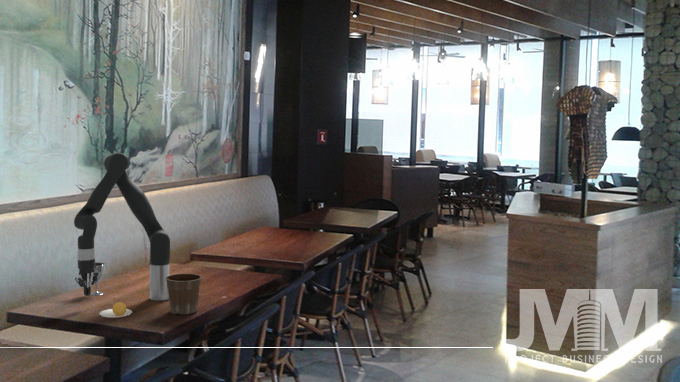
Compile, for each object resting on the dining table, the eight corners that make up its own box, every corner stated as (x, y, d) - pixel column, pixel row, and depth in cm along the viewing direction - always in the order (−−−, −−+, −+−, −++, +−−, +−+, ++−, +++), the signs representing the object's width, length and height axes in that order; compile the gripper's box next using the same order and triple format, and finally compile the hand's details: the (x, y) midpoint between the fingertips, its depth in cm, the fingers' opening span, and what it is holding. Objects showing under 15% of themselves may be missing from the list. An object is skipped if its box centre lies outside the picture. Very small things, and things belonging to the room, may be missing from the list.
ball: (121, 307, 317) (131, 306, 314) (115, 318, 313) (125, 318, 310) (113, 299, 313) (123, 299, 310) (107, 311, 309) (117, 310, 306)
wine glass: (108, 293, 349) (108, 263, 348) (95, 296, 342) (95, 266, 341) (97, 291, 353) (97, 261, 352) (84, 294, 346) (84, 264, 345)
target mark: (132, 308, 324) (132, 307, 324) (131, 316, 310) (131, 316, 310) (100, 309, 320) (100, 309, 320) (98, 318, 307) (98, 317, 307)
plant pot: (158, 310, 321) (158, 276, 320) (188, 305, 333) (189, 271, 331) (177, 318, 310) (177, 282, 308) (208, 312, 321) (208, 277, 319)
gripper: (90, 254, 327) (91, 291, 328) (69, 259, 314) (70, 297, 316) (103, 256, 324) (103, 292, 326) (82, 261, 312) (83, 299, 313)
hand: (87, 295), depth 321 cm, fingers closed
